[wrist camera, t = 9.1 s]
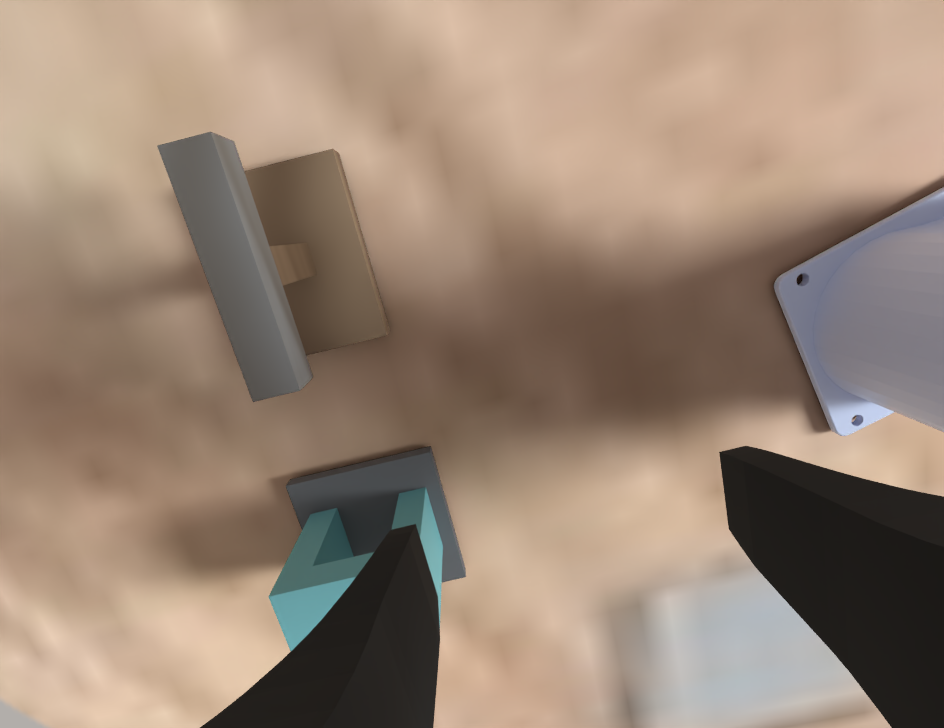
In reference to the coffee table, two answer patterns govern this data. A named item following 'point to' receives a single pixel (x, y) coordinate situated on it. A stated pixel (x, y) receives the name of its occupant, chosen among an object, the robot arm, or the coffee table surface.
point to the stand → (277, 257)
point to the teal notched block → (341, 564)
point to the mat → (378, 501)
